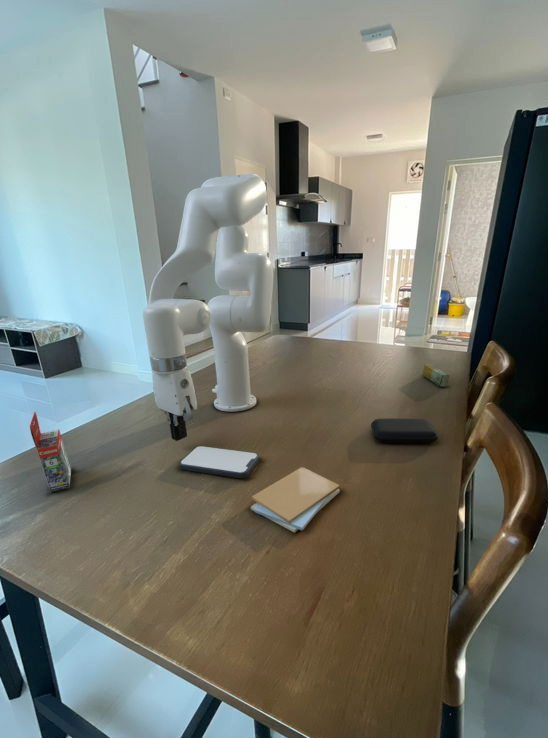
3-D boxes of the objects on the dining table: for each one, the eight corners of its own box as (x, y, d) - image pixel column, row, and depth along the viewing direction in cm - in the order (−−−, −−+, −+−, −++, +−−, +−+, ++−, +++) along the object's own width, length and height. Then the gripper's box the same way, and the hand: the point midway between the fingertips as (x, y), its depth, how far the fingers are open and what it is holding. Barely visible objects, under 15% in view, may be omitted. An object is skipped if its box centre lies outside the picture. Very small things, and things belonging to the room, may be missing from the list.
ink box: (71, 469, 83) (54, 407, 77) (70, 488, 76) (51, 422, 71) (52, 473, 82) (33, 411, 76) (49, 493, 75) (28, 426, 69)
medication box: (447, 387, 123) (450, 375, 121) (439, 387, 122) (442, 375, 121) (428, 374, 134) (430, 363, 132) (421, 374, 133) (423, 363, 132)
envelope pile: (245, 509, 69) (244, 501, 68) (296, 471, 79) (296, 464, 79) (297, 538, 62) (297, 529, 61) (346, 492, 72) (346, 484, 72)
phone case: (177, 470, 82) (245, 481, 77) (175, 464, 81) (244, 474, 76) (198, 450, 89) (261, 459, 84) (197, 444, 89) (261, 452, 84)
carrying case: (427, 425, 98) (368, 425, 99) (428, 414, 97) (369, 414, 98) (439, 445, 88) (375, 445, 89) (441, 434, 87) (375, 433, 88)
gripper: (204, 364, 81) (212, 440, 88) (163, 354, 90) (173, 424, 97) (175, 373, 76) (186, 453, 83) (134, 361, 85) (147, 435, 92)
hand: (179, 437), depth 90 cm, fingers closed
